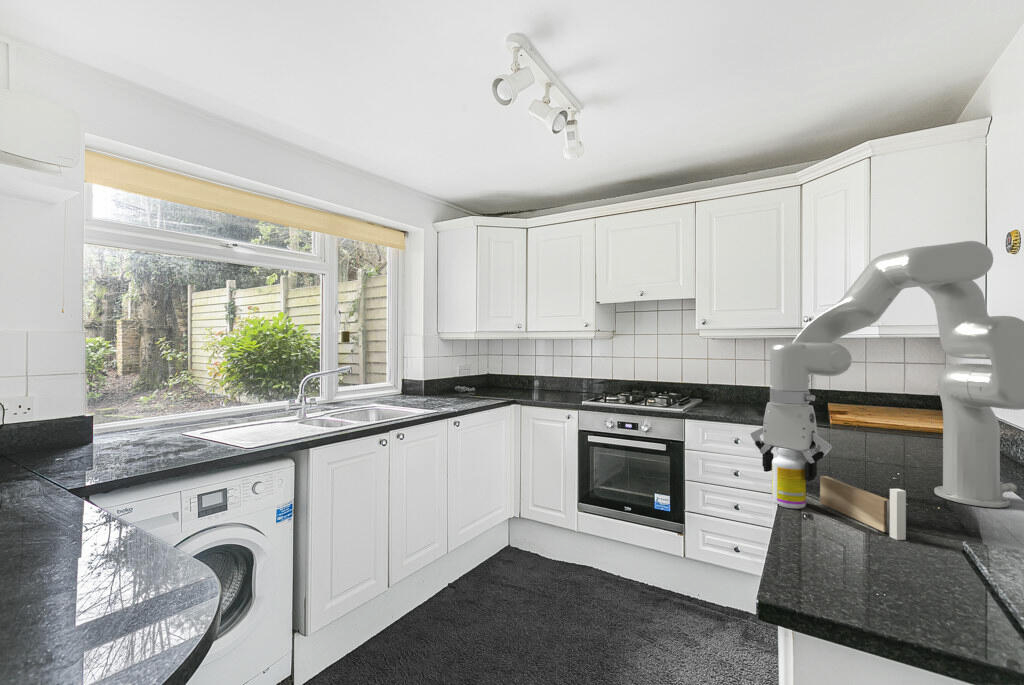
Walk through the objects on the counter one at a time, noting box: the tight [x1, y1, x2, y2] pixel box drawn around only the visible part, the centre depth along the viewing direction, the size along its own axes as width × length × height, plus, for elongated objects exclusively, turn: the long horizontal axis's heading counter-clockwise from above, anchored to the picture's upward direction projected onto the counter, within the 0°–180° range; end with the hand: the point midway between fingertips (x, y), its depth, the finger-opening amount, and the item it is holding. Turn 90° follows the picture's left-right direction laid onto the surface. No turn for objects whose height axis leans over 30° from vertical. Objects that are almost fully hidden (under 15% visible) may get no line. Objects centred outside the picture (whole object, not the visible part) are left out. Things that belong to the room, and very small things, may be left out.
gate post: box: [889, 488, 907, 541], centre depth 88 cm, size 2×2×9 cm
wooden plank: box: [819, 475, 890, 535], centre depth 98 cm, size 2×18×6 cm, turn 5°
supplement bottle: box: [771, 447, 807, 509], centre depth 107 cm, size 7×7×13 cm
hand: (788, 474), depth 107 cm, fingers open, 8 cm apart
